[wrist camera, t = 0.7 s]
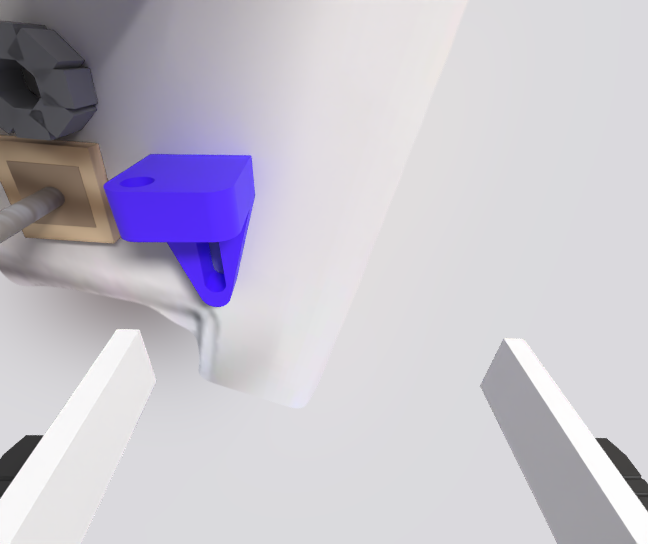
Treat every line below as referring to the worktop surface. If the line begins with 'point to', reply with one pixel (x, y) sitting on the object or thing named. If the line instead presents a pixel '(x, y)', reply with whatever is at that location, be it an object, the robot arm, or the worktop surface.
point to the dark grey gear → (42, 84)
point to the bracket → (189, 212)
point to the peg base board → (55, 191)
